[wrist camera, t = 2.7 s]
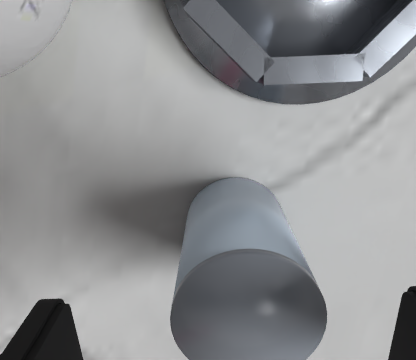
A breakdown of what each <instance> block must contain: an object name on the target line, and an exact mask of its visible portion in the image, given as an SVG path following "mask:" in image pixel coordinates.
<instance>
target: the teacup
mask: <svg viewBox="0 0 416 360" xmlns="http://www.w3.org/2000/svg"><path fill="white" fill-rule="evenodd" d="M71 3H72V0H0V77H2V76H5V75H7V74H9V73H11V72H13V71H15V70H17V69H19V68H20V67H22V66H24V65H26V64H27V63H28V62H30V61H31V60H32V59H34V58H35V57H36V56H38V55H39V54H40V53H41V52H42V51H43V50H44V49H45V48H46V47H47V46H48V45H49V44H50V42H51V41H52V39H53V38H54V37H55V35H56V34H57V32H58V31H59V30H60V28H61V26H62V24H63V23H64V21H65V19H66V17H67V14H68V12H69V9H70V6H71Z"/></svg>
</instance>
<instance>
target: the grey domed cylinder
mask: <svg viewBox="0 0 416 360" xmlns="http://www.w3.org/2000/svg"><path fill="white" fill-rule="evenodd" d="M170 322H171V330H172V334H173V337H174V340H175V342H176V343H177V345H178V347H179V349H180V350H181V351H182V353H183V354H184V355H185V356H186V357H187V358H188V359H189V360H306V359H307V358H308V357H309V356H310V355H311V354H312V353H313V352H314V350H315V349H316V348H317V346H318V345H319V343H320V341H321V339H322V337H323V335H324V332H325V329H326V323H327V310H326V304H325V301H324V298H323V296H322V293H321V291H320V289H319V287H318V285H317V283H316V281H315V279H314V276H313V274H312V272H311V270H310V268H309V266H308V264H307V261H306V259H305V257H304V255H303V253H302V251H301V249H300V246H299V244H298V242H297V240H296V238H295V236H294V234H293V232H292V229H291V227H290V225H289V223H288V221H287V219H286V217H285V214H284V212H283V210H282V208H281V206H280V204H279V202H278V200H277V198H276V197H275V196H274V194H273V193H272V192H271V191H270V190H269V189H268V188H266V187H265V186H264V185H262V184H260V183H258V182H256V181H254V180H250V179H246V178H235V177H234V178H226V179H221V180H218V181H216V182H213V183H211V184H209V185H208V186H206V187H205V188H204V189H202V190H201V191H200V192H199V193H198V194H197V196H196V197H195V198H194V200H193V201H192V203H191V205H190V208H189V211H188V215H187V221H186V227H185V233H184V239H183V245H182V251H181V256H180V262H179V268H178V274H177V280H176V286H175V291H174V297H173V303H172V309H171V316H170Z"/></svg>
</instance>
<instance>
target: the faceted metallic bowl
mask: <svg viewBox="0 0 416 360" xmlns="http://www.w3.org/2000/svg"><path fill="white" fill-rule="evenodd" d="M164 2H165V5H166V7H167V10H168V13H169V15H170V18H171V20H172V22H173V24H174V26H175V27H176V29H177V31H178V33H179V35H180V37H181V38H182V40H183V41H184V43H185V44H186V45H187V47H188V48H189V50H190V51H191V53H192V54H193V55H194V56H195V57H196V58H197V59H198V60H199V62H200V63H201V64H202V65H203V66H204V67H205V68H206V69H207V70H209V71H210V72H211V73H212V74H213V75H214V76H216V77H217V78H218V79H219V80H221V81H223V82H224V83H226V84H227V85H229V86H230V87H232V88H233V89H236V90H238V91H240V92H242V93H244V94H246V95H248V96H251V97H255V98H258V99H261V100H264V101H269V102H275V103H281V104H310V103H319V102H323V101H328V100H332V99H336V98H339V97H342V96H344V95H347V94H350V93H352V92H355V91H357V90H359V89H361V88H363V87H365V86H367V85H368V84H370V83H372V82H374V81H375V80H377V79H378V78H380V77H381V76H383V75H384V74H386V73H387V72H389V71H390V70H391V69H392V68H393V67H394V66H396V65H397V64H398V63H399V62H400V61H402V60H403V59H404V58H405V57H406V56H407V55H408V54H409V53H410V52H411V51H412V50H413V49H414V48H415V46H416V0H164Z"/></svg>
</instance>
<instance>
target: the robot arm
mask: <svg viewBox="0 0 416 360" xmlns="http://www.w3.org/2000/svg"><path fill="white" fill-rule="evenodd" d="M0 360H83V357H82V353H81V348H80V344H79V340H78V336H77V332H76V328H75V324H74V320H73V316H72V312H71V308H70V305H69V304H65V303H64V301H63V300H62V299H41V300H39V301H38V302H37V303H36V304H35V306H34V307H33V309H32V310H31V312H30V313H29V315H28V316H27V317H26V319H25V320H24V322H23V323H22V325H21V326H20V328H19V329H18V331H17V332H16V334H15V335H14V337H13V338H12V339H11V341H10V342H9V344H8V345H7V347H6V348H5V350H4V351H3V353H2V354H0ZM388 360H416V286H411V287H409V288H408V291H407V292H404V293H403V295H402V298H401V303H400V308H399V312H398V317H397V321H396V326H395V331H394V335H393V340H392V344H391V349H390V354H389V358H388Z"/></svg>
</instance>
